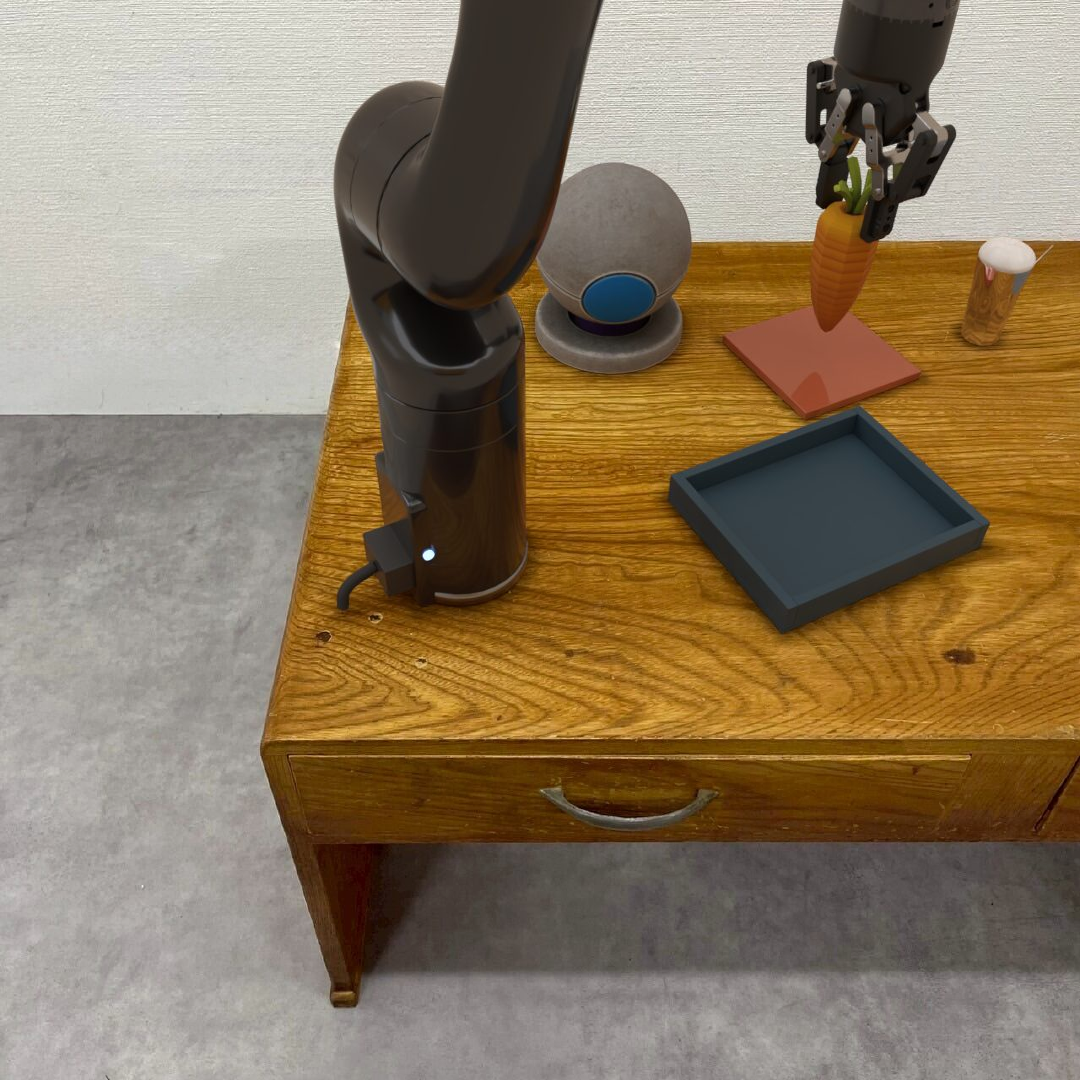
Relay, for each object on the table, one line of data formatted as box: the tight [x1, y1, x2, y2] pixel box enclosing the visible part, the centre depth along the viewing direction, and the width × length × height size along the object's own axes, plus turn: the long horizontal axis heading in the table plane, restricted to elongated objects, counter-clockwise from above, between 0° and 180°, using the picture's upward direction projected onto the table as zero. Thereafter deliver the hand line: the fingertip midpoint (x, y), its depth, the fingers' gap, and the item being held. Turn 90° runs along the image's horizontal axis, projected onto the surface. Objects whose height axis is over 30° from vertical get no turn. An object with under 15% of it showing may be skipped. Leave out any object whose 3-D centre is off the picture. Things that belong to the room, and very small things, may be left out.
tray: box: [667, 405, 991, 635], centre depth 82 cm, size 18×15×3 cm
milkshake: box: [960, 236, 1054, 347], centre depth 95 cm, size 4×5×10 cm
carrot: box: [809, 156, 880, 332], centre depth 89 cm, size 5×5×15 cm
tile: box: [721, 304, 922, 421], centre depth 96 cm, size 12×12×1 cm
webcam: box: [534, 162, 693, 375], centre depth 94 cm, size 13×13×15 cm
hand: (850, 221), depth 87 cm, fingers closed on carrot, 5 cm apart
